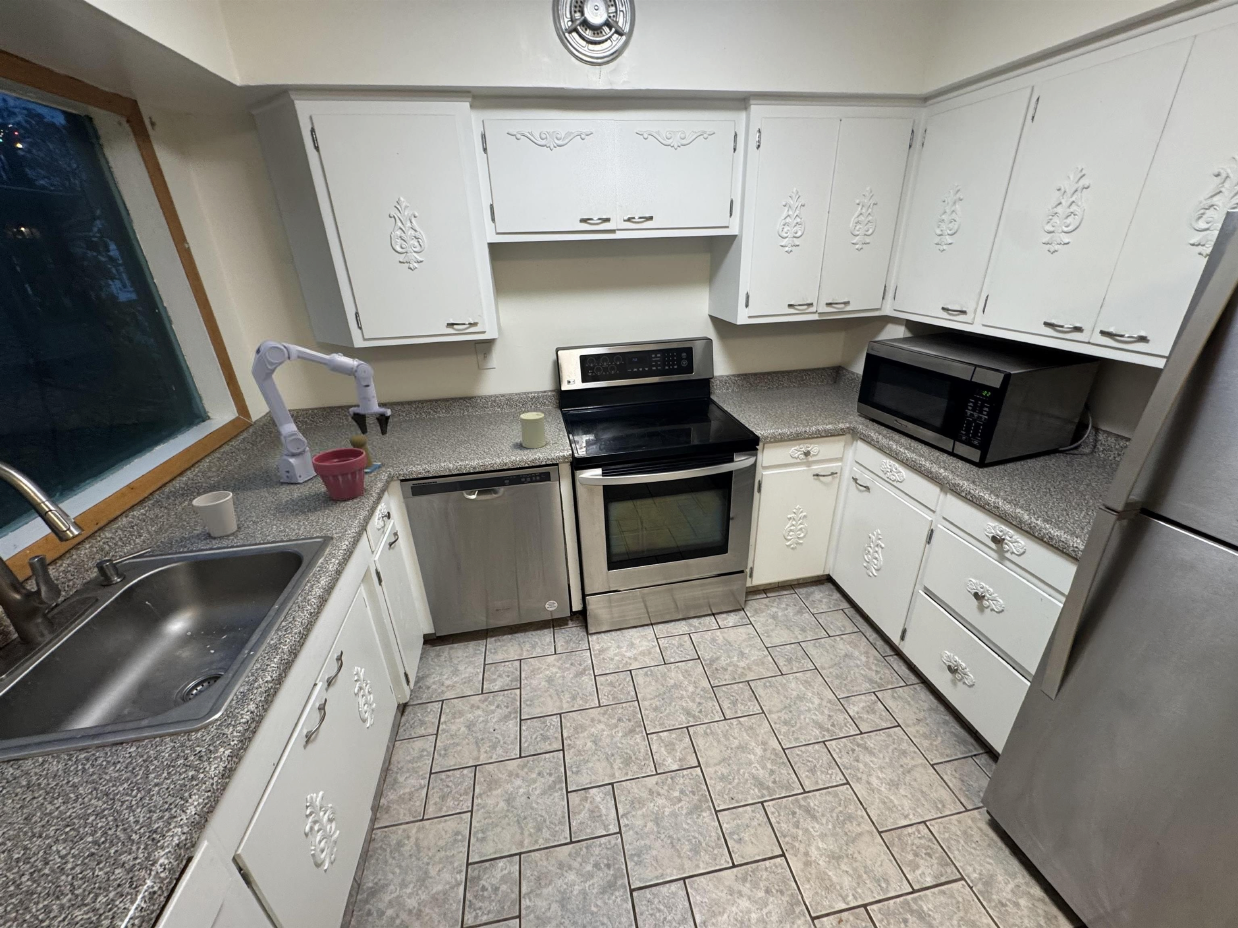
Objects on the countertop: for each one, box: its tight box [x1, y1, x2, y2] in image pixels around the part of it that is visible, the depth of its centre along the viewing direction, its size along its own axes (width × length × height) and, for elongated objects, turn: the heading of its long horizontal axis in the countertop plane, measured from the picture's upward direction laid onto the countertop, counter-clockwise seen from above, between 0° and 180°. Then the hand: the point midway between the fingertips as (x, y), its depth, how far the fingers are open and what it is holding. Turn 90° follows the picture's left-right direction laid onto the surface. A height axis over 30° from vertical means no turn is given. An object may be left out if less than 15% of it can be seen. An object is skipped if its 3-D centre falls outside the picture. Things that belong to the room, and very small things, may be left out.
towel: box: [364, 461, 384, 474], centre depth 174 cm, size 8×9×1 cm
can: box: [519, 411, 547, 449], centre depth 193 cm, size 9×9×12 cm
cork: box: [349, 434, 373, 469], centre depth 172 cm, size 6×6×11 cm
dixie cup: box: [191, 490, 238, 538], centre depth 132 cm, size 8×8×10 cm
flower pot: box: [311, 447, 367, 501], centre depth 153 cm, size 14×14×13 cm
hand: (374, 434), depth 179 cm, fingers open, 7 cm apart
